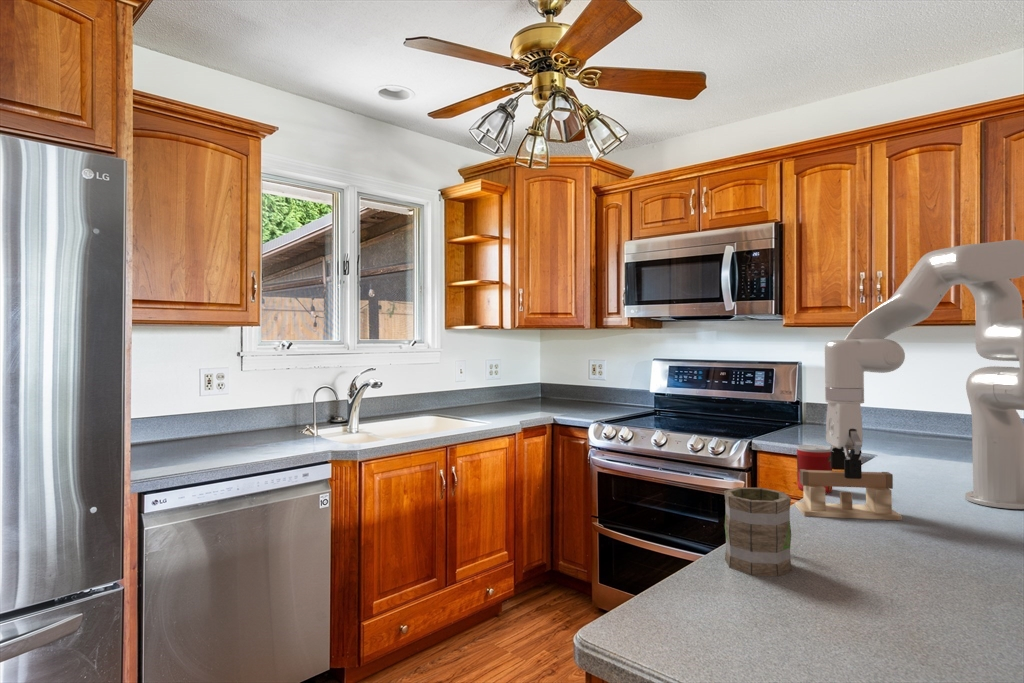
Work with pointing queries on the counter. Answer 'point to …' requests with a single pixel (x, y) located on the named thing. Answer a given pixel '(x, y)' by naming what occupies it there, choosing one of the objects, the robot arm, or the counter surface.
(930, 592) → the counter surface
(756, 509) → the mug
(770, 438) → the counter surface
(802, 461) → the canned food
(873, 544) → the counter surface
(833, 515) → the display stand
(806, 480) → the frame bar
